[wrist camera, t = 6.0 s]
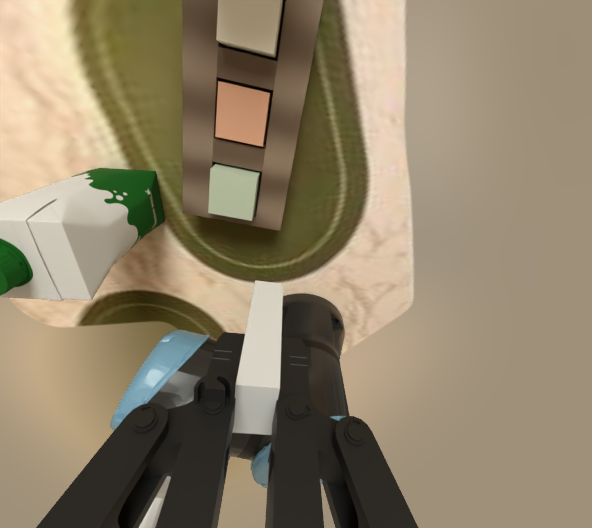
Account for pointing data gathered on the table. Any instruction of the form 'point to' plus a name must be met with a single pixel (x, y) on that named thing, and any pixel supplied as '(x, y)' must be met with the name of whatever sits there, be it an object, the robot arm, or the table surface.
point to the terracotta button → (242, 113)
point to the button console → (252, 74)
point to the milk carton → (74, 232)
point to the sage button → (233, 191)
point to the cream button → (250, 25)
